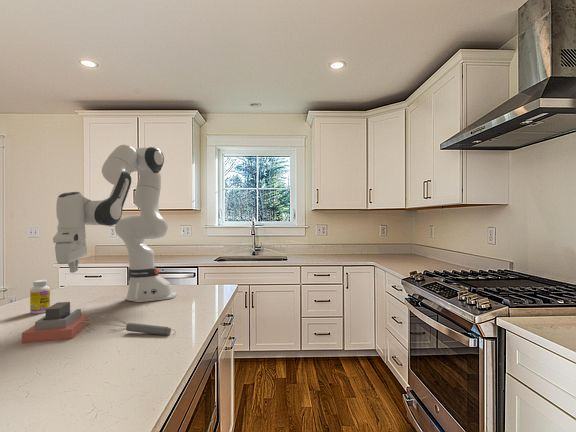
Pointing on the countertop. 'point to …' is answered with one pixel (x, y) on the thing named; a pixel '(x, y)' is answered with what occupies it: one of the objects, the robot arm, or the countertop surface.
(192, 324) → the countertop surface
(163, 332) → the kitchen whisk
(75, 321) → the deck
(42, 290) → the supplement bottle
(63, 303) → the dark gray eraser
